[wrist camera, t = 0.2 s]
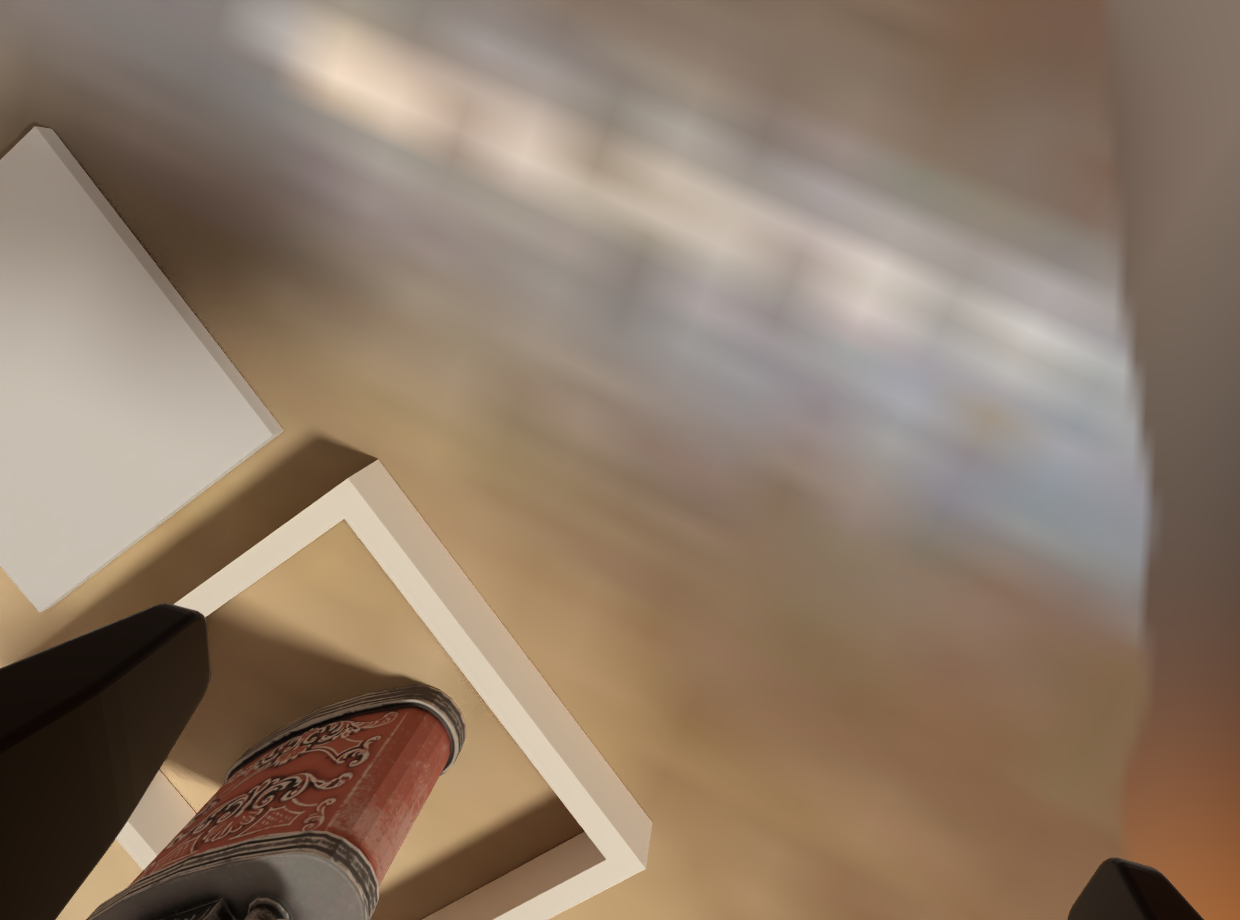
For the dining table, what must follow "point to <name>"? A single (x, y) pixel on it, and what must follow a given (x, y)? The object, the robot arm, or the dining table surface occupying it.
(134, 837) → the holder
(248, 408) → the mat
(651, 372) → the dining table surface
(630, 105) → the dining table surface
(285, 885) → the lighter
